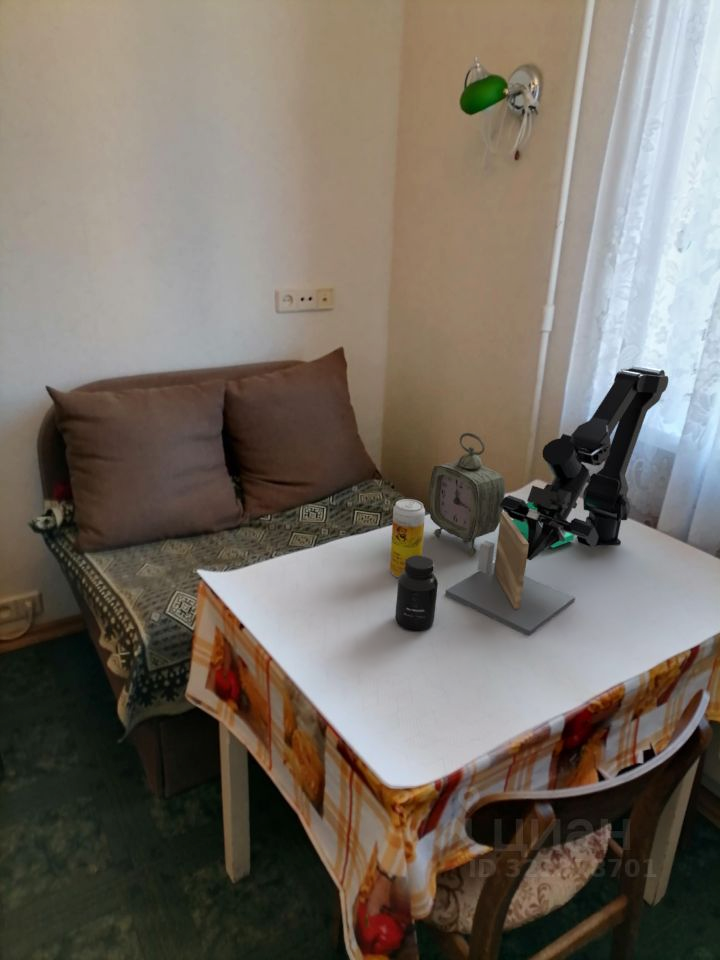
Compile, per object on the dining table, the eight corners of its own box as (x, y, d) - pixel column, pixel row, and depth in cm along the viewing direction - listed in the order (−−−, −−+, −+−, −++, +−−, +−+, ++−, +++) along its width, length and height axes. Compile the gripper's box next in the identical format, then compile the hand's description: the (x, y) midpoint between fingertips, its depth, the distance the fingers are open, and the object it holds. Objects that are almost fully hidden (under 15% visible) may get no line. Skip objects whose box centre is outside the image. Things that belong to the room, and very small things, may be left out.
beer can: (385, 576, 131) (389, 507, 126) (395, 563, 137) (399, 496, 131) (414, 583, 129) (420, 513, 124) (424, 569, 134) (429, 501, 129)
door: (498, 571, 132) (506, 512, 127) (519, 608, 120) (528, 543, 115) (493, 571, 132) (501, 512, 127) (514, 608, 120) (523, 544, 115)
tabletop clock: (425, 534, 149) (434, 427, 140) (455, 525, 154) (464, 421, 145) (472, 561, 138) (484, 447, 129) (502, 550, 144) (515, 439, 134)
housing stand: (491, 566, 137) (495, 535, 134) (574, 601, 125) (579, 568, 122) (443, 593, 126) (446, 561, 123) (528, 635, 114) (534, 600, 112)
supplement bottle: (408, 637, 113) (412, 575, 108) (388, 616, 118) (391, 556, 114) (441, 627, 116) (447, 566, 111) (420, 607, 121) (425, 549, 117)
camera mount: (574, 543, 148) (581, 501, 144) (552, 552, 144) (558, 508, 140) (532, 523, 157) (538, 483, 153) (510, 531, 153) (515, 489, 149)
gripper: (510, 456, 129) (472, 524, 126) (601, 484, 117) (561, 560, 114) (527, 483, 138) (491, 548, 135) (614, 511, 126) (577, 583, 122)
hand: (527, 558), depth 126 cm, fingers closed
